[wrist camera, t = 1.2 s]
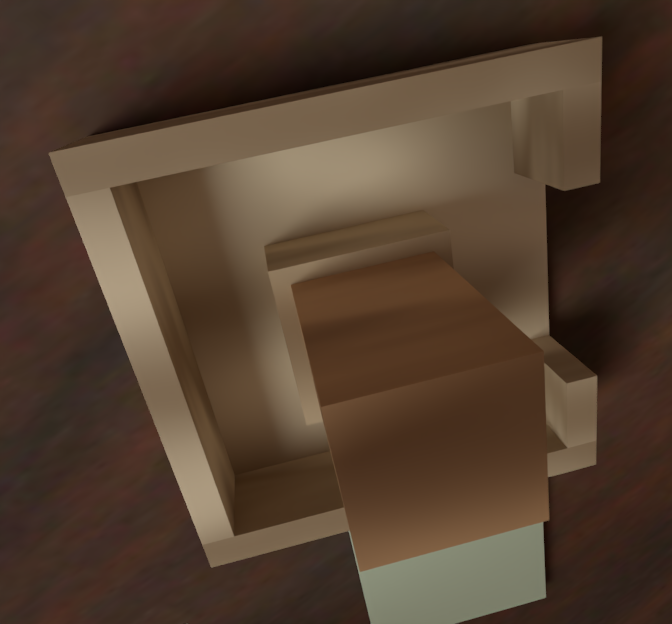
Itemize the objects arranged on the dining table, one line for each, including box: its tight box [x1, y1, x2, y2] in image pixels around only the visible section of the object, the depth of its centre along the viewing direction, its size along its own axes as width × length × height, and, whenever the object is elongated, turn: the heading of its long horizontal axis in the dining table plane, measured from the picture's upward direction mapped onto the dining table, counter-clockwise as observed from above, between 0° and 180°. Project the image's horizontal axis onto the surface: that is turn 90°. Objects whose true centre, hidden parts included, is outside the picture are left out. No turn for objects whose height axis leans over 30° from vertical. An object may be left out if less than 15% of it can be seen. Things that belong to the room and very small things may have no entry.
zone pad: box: [349, 522, 546, 624], centre depth 24 cm, size 8×8×1 cm
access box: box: [49, 37, 602, 568], centre depth 17 cm, size 13×13×4 cm
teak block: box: [291, 251, 549, 572], centre depth 13 cm, size 4×4×6 cm
